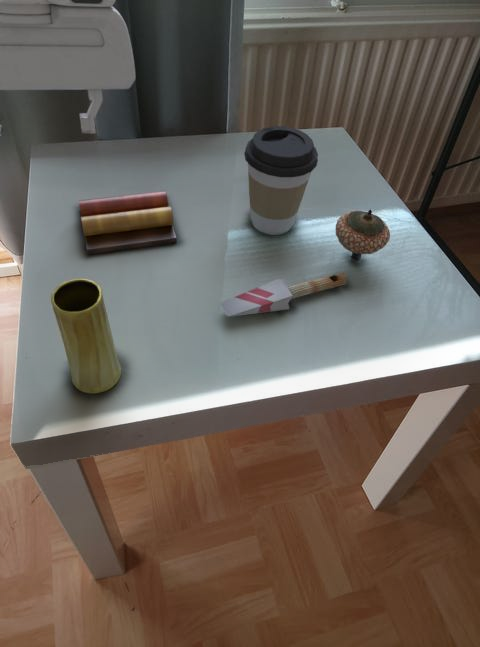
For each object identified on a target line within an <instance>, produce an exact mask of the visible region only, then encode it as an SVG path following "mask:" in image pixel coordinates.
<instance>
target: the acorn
mask: <svg viewBox="0 0 480 647" xmlns="http://www.w3.org/2000/svg"><path fill="white" fill-rule="evenodd" d="M335 236H336V237H337V239H338V242H339V243H340V245H341V246H342V247H343V248H344V249H345V250H347V251H348V252H351V255H350V256H349V257H350V259H351V260H353V261H354V262H360V260H361V257H362V255H373V254H374V253H377V252H379V251H380V250H383V248H385V246H387V244H388V243H389V241H390V238H391V232H390V229H389V227H388V225H387V223H386V221H384V220H383V219H382V218H381V217H380V216H378V215H376V214H373V210H372V209H371V208H370V209H369V210H368V211H363V210H351V211H349V212H346V213H343V214H342V215H341V216H339V218H338V219H337V221H336V224H335Z"/></svg>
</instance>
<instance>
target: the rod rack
mask: <svg viewBox="0 0 480 647" xmlns="http://www.w3.org/2000/svg"><path fill="white" fill-rule="evenodd" d="M167 194H168V193H167V192H166V190H160V191H151V192H142V193H133V194H132V193H131V194H124V195H115V196H107V197H97V198H88V199H79V200H78V205H79V212H80V215H81V216H80V221H81V226H82V231H83V235H84V241H85V247H86V254H87V255H93V254H94V255H95V254H100V253H101V254H102V253H108V252H115V251H116V252H117V251H123V250H131V249H137V248H139V249H140V248H144V247H145V248H146V247H153V246H160V245H161V246H162V245H167V244H176V243H178V242H177V240H178V239H177V235H176V233H175V229H174V214H173V210H172V207H171V206H169V201H168V195H167Z"/></svg>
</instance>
